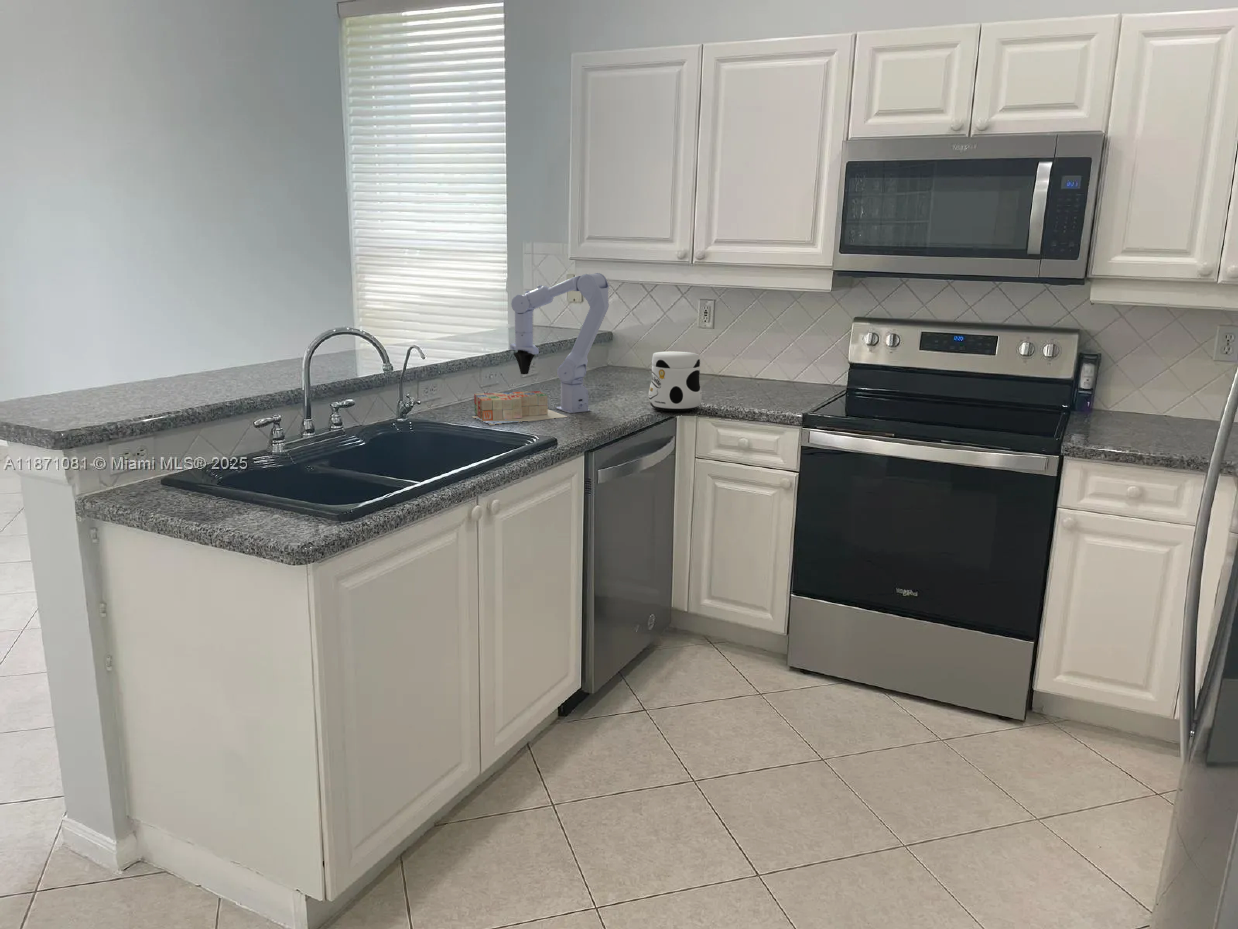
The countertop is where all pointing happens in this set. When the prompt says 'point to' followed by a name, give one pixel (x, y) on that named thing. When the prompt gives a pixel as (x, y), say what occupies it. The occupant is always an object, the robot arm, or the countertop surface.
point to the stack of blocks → (510, 405)
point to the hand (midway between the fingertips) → (524, 373)
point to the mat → (532, 417)
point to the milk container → (675, 381)
